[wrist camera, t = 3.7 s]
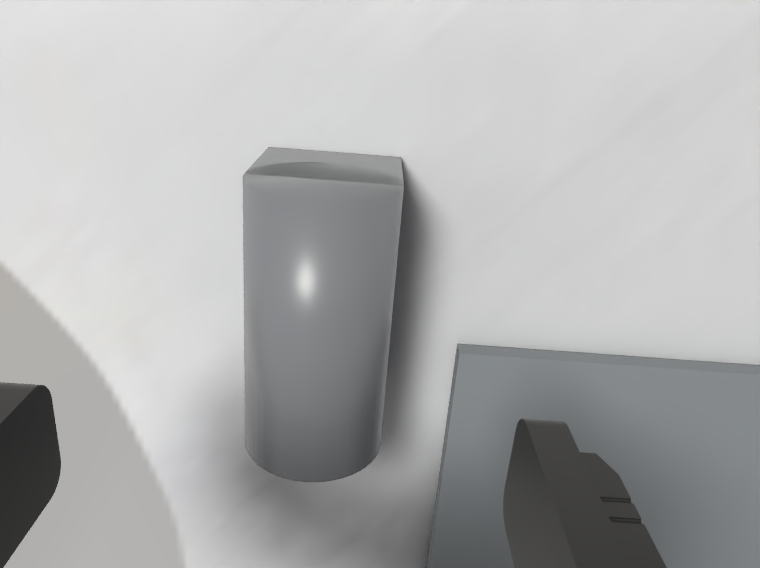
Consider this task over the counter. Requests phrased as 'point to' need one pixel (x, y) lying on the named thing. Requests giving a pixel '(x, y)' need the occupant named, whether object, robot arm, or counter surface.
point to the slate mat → (607, 448)
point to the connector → (318, 308)
